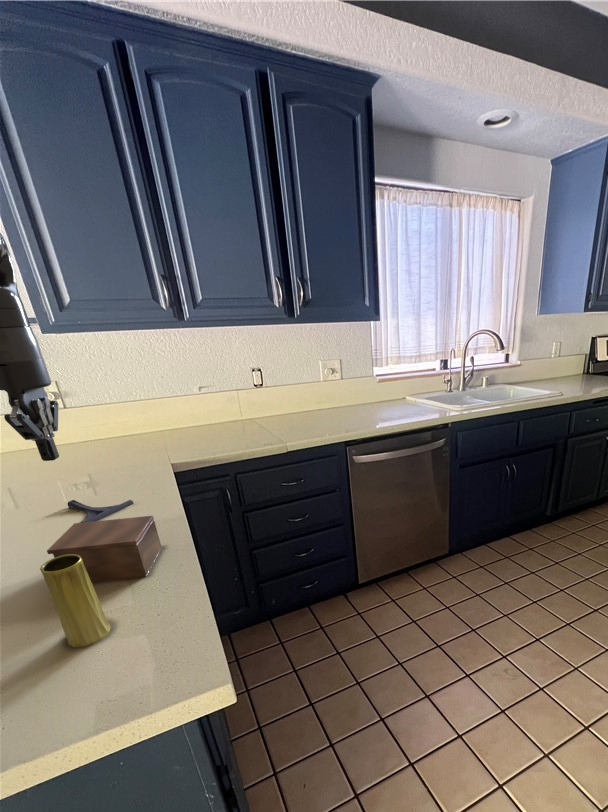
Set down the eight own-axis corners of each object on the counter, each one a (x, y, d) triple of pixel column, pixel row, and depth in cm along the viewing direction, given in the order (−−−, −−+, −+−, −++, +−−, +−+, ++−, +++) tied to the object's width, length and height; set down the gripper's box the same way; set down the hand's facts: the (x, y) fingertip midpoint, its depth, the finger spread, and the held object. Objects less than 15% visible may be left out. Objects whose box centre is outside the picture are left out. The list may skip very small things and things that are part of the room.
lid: (48, 554, 79) (46, 550, 79) (75, 526, 90) (74, 523, 89) (137, 544, 82) (135, 541, 82) (153, 518, 92) (152, 515, 92)
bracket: (95, 499, 123) (92, 490, 122) (134, 505, 118) (131, 496, 117) (45, 520, 111) (41, 510, 110) (86, 528, 106) (82, 518, 105)
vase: (97, 620, 74) (69, 549, 68) (119, 630, 72) (93, 557, 65) (60, 642, 69) (27, 568, 63) (83, 654, 67) (51, 578, 60)
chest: (66, 588, 83) (52, 553, 80) (91, 557, 93) (79, 526, 90) (147, 578, 85) (137, 544, 82) (162, 550, 96) (153, 519, 92)
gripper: (11, 354, 74) (45, 450, 82) (-40, 362, 63) (6, 473, 70) (59, 353, 76) (89, 447, 83) (18, 361, 64) (57, 469, 71)
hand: (51, 459), depth 77 cm, fingers closed
